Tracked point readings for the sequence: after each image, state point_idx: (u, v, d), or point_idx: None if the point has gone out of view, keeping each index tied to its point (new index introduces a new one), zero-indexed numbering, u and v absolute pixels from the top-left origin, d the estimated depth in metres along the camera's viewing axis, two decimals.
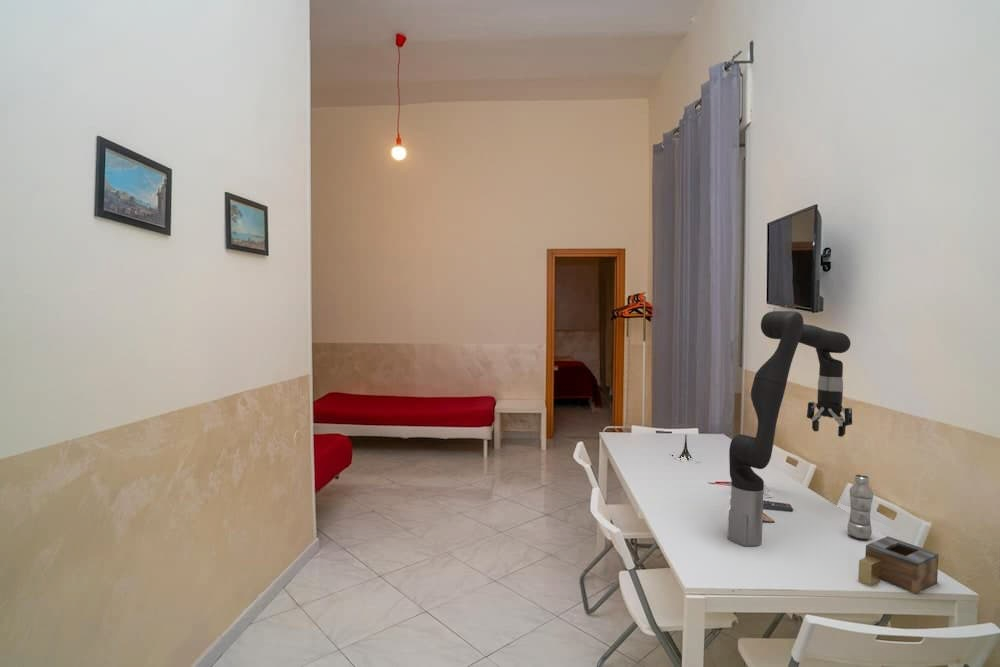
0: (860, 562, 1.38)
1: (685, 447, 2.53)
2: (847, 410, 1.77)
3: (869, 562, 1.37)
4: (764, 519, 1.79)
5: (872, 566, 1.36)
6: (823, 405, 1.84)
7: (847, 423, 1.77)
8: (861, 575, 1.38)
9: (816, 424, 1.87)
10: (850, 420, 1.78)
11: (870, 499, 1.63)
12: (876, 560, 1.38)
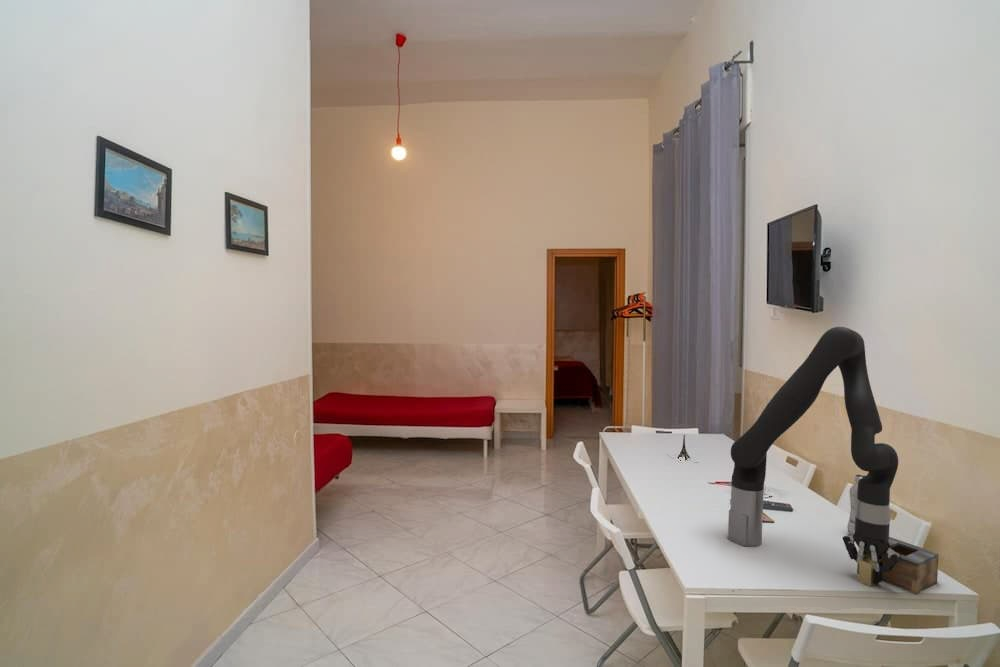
0: (860, 562, 1.38)
1: (683, 447, 2.53)
2: (895, 558, 1.32)
3: (869, 562, 1.37)
4: (764, 519, 1.79)
5: (872, 566, 1.36)
6: (863, 538, 1.39)
7: (885, 570, 1.34)
8: (861, 575, 1.38)
9: None
10: (891, 566, 1.35)
11: None
12: None
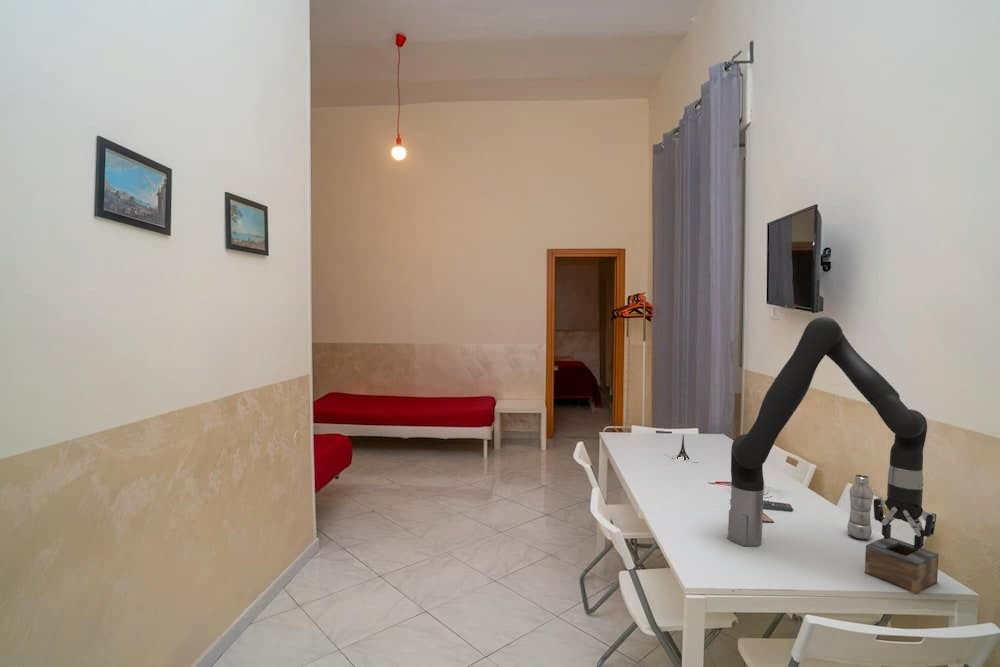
0: None
1: (682, 447, 2.53)
2: (931, 518, 1.34)
3: None
4: (764, 519, 1.79)
5: None
6: (895, 504, 1.41)
7: (927, 534, 1.34)
8: None
9: (888, 530, 1.43)
10: (931, 529, 1.35)
11: (870, 499, 1.63)
12: None
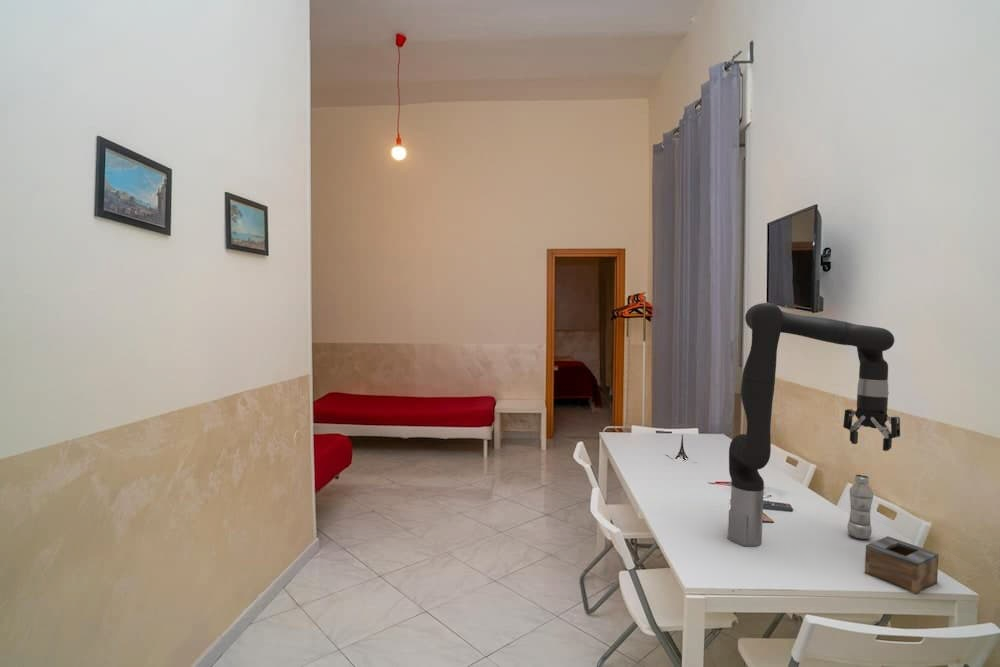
0: None
1: (681, 447, 2.53)
2: (894, 419, 1.49)
3: None
4: (763, 519, 1.79)
5: None
6: (864, 413, 1.56)
7: (894, 435, 1.49)
8: None
9: (855, 435, 1.58)
10: (898, 431, 1.50)
11: (870, 499, 1.63)
12: None
